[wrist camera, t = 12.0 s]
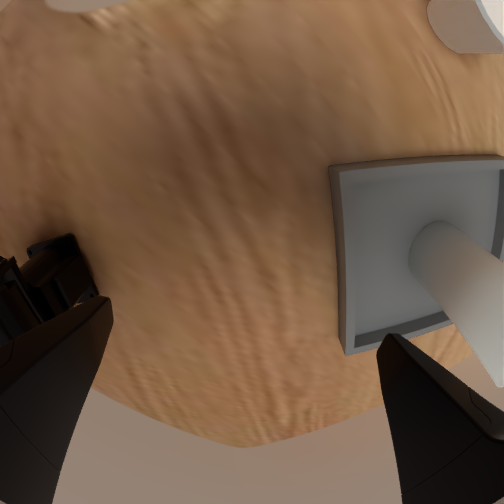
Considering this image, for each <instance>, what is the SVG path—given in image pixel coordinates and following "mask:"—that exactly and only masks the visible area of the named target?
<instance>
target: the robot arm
mask: <svg viewBox="0 0 504 504" xmlns="http://www.w3.org/2000/svg"><path fill="white" fill-rule="evenodd" d="M68 238H69V239H70V241H71V242H70V241H69V240H68ZM27 254H28V256H29V259H30V260H28V261H27V262H26V263H25V264H24V265H23V266H21V267H20V268H19V267H18V266H17V264H16V263H17V261H16V259H15V257H14V256H13V257H11V258H9V259H8V260H7V258H6V259H5V258H3V257H2V256H0V504H52V502H53V497H54V494H55V490H56V486H57V483H58V479H59V476H60V471H61V468H62V465H63V462H64V459H65V455H66V452H67V449H68V446H69V443H70V440H71V437H72V434H73V432H74V429H75V426H76V423H77V421H78V418H79V415H80V413H81V410H82V407H83V405H84V402H85V400H86V397H87V395H88V392H89V390H90V387H91V385H92V383H93V380H94V378H95V375H96V373H97V371H98V368H99V366H100V363H101V360H102V357H103V354H104V351H105V347H106V344H107V341H108V338H109V335H110V332H111V329H112V326H113V312H112V304H111V300H110V298H109V297H105V296H100V295H99V294H98V292H97V290H96V287H95V285H94V283H93V281H92V279H91V276H90V274H89V272H88V270H87V267H86V265H85V263H84V260H83V258H82V255H81V253H80V251H79V248H78V246H77V243H76V240H75V238H74V236H73V235H72V234H66V235H63V236H60V237H57V238H54V239H50V240H47V241H44V242H41V243H38V244H35V245H32V246H30V247H29V248H27ZM92 294H93V295H94V296H93V295H92ZM81 302H84V303H82V304H80V305H78V306H76V307H74V306H75V304H76V303H81ZM73 307H74V308H73ZM376 357H377V363H378V370H379V376H380V383H381V390H382V395H383V400H384V404H385V408H386V413H387V417H388V421H389V426H390V431H391V435H392V440H393V446H394V451H395V457H396V463H397V468H398V474H399V481H400V487H401V494H402V495H401V496H402V504H504V412H503V411H502V410H500V409H499V408H497V407H496V406H494V405H493V404H492V403H490V402H489V401H487V400H486V399H484V398H483V397H481V396H480V395H479V394H478V393H476V392H475V391H474V390H472V389H471V388H470V387H468V386H467V385H466V384H465V383H463V382H462V381H461V380H459V379H458V378H457V377H455V376H454V375H453V374H452V373H450V372H449V371H448V370H447V369H445V368H444V367H443V366H441V365H440V364H439V363H437V362H436V361H435V360H433V359H432V358H431V357H429V356H428V355H427V354H425V353H424V352H423V351H421V350H420V349H419V348H417V347H416V346H415V345H413V344H412V343H411V342H409V341H408V340H407V339H405V338H404V337H403V336H401V335H400V334H399V333H388V334H386V335H385V337H384V339H383V341H382V343H381V345H380V346H379V348H378V350H377V354H376Z"/></svg>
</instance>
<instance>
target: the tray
mask: <svg viewBox="0 0 504 504" xmlns="http://www.w3.org/2000/svg"><path fill="white" fill-rule="evenodd" d="M328 168H329V176H330V185H331V194H332V204H333V215H334V227H335V240H336V256H337V276H338V308H339V340H340V343H341V346H342V348H343V351H344V354H345V356H348V355H352V354H357V353H361V352H365V351H368V350H372V349H376V348H379V346H380V345H381V343H382V341H383V339H384V337H385V335H386V334H388V333H399V334H400V335H401V336H403V337H404V338H405V339H410V338H413V337H417V336H420V335H423V334H426V333H429V332H432V331H434V330H437V329H440V328H443V327H446V326H448V325H451V324H453V323H452V321H451V320H450V319H449V317H448V316H447V315H446V314H445V312H444V311H443V310H442V308H441V307H440V306H439V305H438V303H437V302H436V301H435V300H434V299H433V297H432V296H431V295H430V294H429V293H428V291H427V290H426V289H425V288H424V287H423V285H422V284H421V283H420V282H419V281H418V280H417V278H416V277H415V276H414V275H413V274H412V272H411V270H410V267H409V252H410V249H411V246H412V243H413V241H414V240H415V238H416V236H417V235H418V234H419V233H420V231H421V230H422V229H424V228H425V227H426V226H427V225H429V224H431V223H433V222H437V221H444V222H447V223H449V224H451V225H452V226H454V227H455V228H457V229H458V230H460V231H461V232H463V233H464V234H465V235H467V236H468V237H470V238H471V239H472V240H474V241H475V242H477V243H478V244H479V245H481V246H482V247H483V248H485V249H486V250H487V251H489V252H490V253H491V254H492V255H494V256H495V257H496V258H498V259H499V260H500V261H501V262H503V261H504V156H500V155H447V156H427V157H411V158H398V159H387V160H376V161H366V162H357V163H348V164H340V165H332V166H328Z"/></svg>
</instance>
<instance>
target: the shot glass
mask: <svg viewBox="0 0 504 504" xmlns="http://www.w3.org/2000/svg"><path fill="white" fill-rule="evenodd" d="M427 15H428V20H429V23H430V25H431V27H432V29H433V31H434V33H435V34H436V35H437V37H438V38H439V39H440V41H441V42H442V43H443V44H445V45H446V46H447V47H448V48H449V49H450V50H452V51H454V52H457V53H459V54H504V0H431V1H430V2H429V3H428V6H427Z"/></svg>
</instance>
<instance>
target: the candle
mask: <svg viewBox="0 0 504 504" xmlns="http://www.w3.org/2000/svg"><path fill="white" fill-rule="evenodd" d="M409 267H410V270H411V272H412V274H413V275H414V276H415V277H416V278H417V280H418V281H419V282H420V283H421V284H422V285H423V287H424V288H425V289H426V290H427V291H428V293H429V294H430V295H431V296H432V297H433V299H434V300H435V301H436V302H437V303H438V305H439V306H440V307H441V308H442V310H443V311H444V312H445V314H446V315H447V316H448V317H449V319H450V320H451V321H452V323H453V324H454V325H455V326H456V328H457V329H458V330H459V332H460V333H461V334H462V336H463V337H464V339H465V340H466V341H467V343H468V344H469V345H470V347H471V348H472V350H473V351H474V353H475V354H476V355H477V357H478V358H479V360H480V361H481V362H482V364H483V365H484V367H485V369H486V370H487V372H488V373H489V375H490V376H491V378H492V380H493V381H494V383H495V384H496V386H497V387H500V388H501V387H504V263H503V262H501V261H500V260H499V259H498V258H496V257H495V256H494V255H492V254H491V253H490V252H489V251H487V250H486V249H485V248H483V247H482V246H481V245H479V244H478V243H477V242H475V241H474V240H472V239H471V238H470V237H468V236H467V235H465V234H464V233H463V232H461V231H460V230H458V229H457V228H455V227H454V226H452V225H451V224H449V223H447V222H444V221H437V222H433V223H431V224H429V225H427V226H426V227H425V228H424V229H422V230H421V231H420V233H419V234H418V235H417V236H416V238H415V240H414V241H413V243H412V246H411V249H410V252H409Z"/></svg>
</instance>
